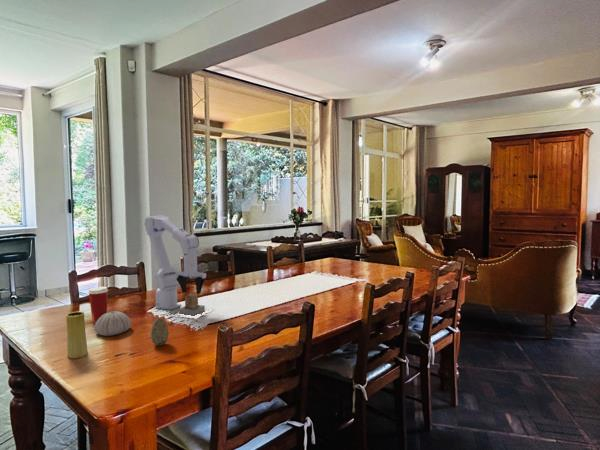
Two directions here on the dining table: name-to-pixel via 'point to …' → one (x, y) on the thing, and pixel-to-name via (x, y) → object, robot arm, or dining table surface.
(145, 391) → the dining table surface
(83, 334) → the vase
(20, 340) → the dining table surface
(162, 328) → the decorative egg
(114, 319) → the sea urchin shell
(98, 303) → the paper cup
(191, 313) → the grey square socket
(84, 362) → the dining table surface
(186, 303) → the square peg
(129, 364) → the dining table surface
